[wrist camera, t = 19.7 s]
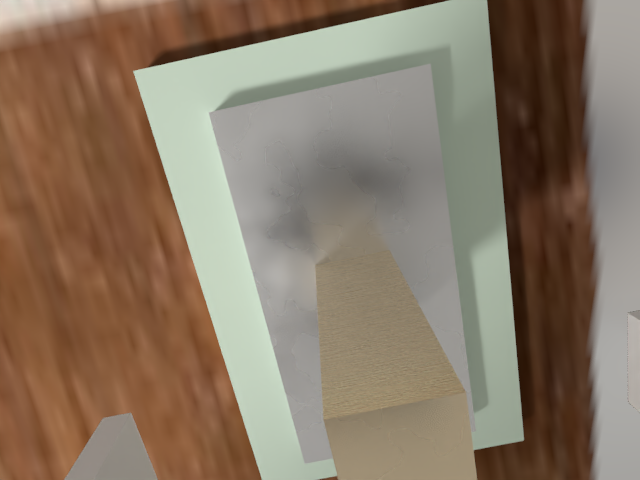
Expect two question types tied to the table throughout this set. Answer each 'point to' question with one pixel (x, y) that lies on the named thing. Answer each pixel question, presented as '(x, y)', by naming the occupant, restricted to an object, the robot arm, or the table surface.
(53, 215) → the table surface
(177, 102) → the rest mat
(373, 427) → the beige post on base
